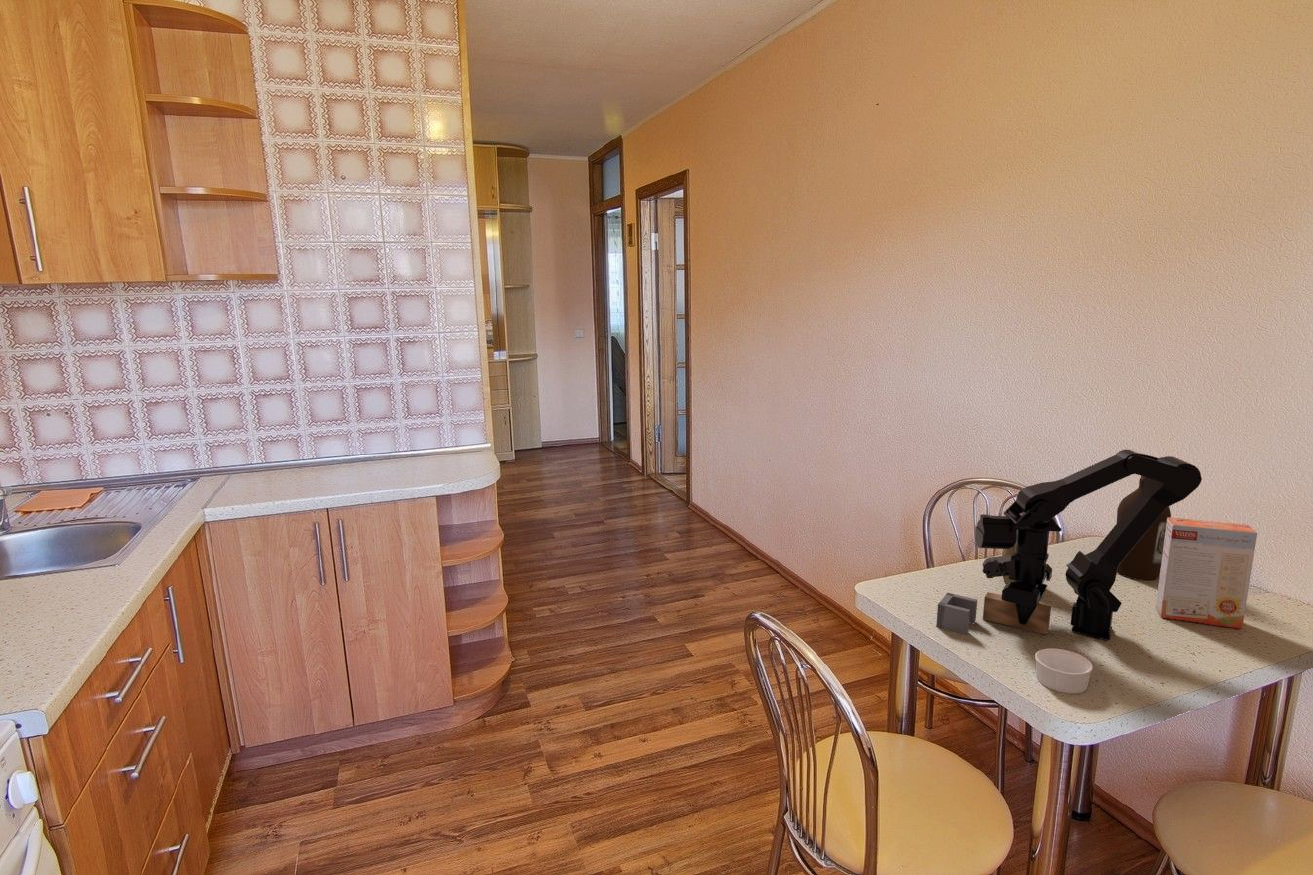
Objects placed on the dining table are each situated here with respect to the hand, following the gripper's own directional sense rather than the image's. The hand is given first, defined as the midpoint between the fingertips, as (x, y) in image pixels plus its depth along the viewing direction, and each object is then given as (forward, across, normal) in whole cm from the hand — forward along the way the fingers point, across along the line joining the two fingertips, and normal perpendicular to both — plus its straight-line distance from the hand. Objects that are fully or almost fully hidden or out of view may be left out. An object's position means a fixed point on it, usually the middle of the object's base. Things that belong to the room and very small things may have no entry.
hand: (1023, 620), depth 146 cm
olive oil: (+2, -46, +17) cm, 49 cm away
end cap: (+1, +7, -12) cm, 14 cm away
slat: (+1, 0, -2) cm, 2 cm away
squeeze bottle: (+1, -23, -6) cm, 24 cm away
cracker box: (+2, -25, +28) cm, 38 cm away
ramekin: (+2, +19, +10) cm, 21 cm away
